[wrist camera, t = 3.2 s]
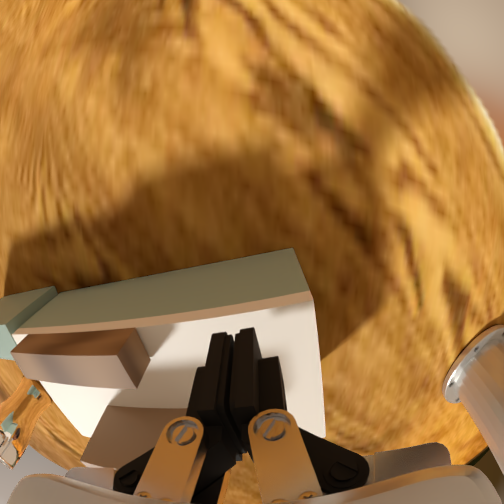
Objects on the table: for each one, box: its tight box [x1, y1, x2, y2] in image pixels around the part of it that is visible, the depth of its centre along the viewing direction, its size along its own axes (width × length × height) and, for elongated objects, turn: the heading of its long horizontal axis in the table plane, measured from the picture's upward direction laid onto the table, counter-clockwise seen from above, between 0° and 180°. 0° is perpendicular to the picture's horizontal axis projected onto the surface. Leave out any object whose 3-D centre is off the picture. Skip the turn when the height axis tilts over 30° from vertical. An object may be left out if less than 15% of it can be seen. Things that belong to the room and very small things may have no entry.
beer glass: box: [0, 376, 52, 470], centre depth 21 cm, size 7×7×15 cm
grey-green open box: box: [0, 248, 310, 360], centre depth 19 cm, size 34×13×8 cm, turn 102°
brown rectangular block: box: [10, 327, 151, 389], centre depth 13 cm, size 10×2×2 cm, turn 102°
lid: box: [12, 290, 326, 470], centre depth 14 cm, size 22×12×8 cm, turn 102°
